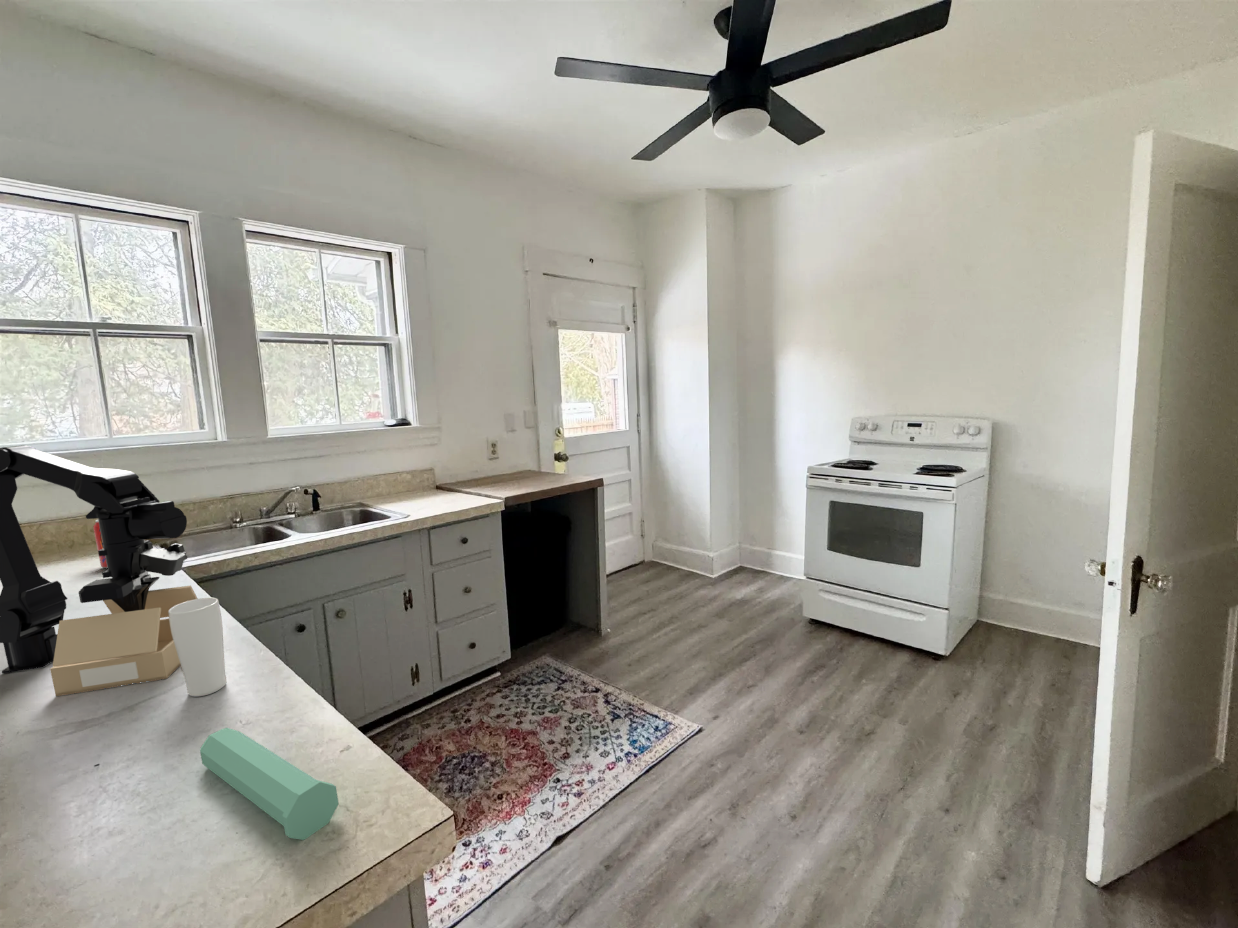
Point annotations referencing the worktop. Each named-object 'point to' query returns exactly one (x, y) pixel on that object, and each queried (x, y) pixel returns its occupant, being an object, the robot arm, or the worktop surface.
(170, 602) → the flap
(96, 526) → the soda can
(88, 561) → the worktop surface
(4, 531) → the robot arm
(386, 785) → the worktop surface
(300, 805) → the green octagonal rod
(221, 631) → the drinking glass
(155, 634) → the flap
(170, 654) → the carton
